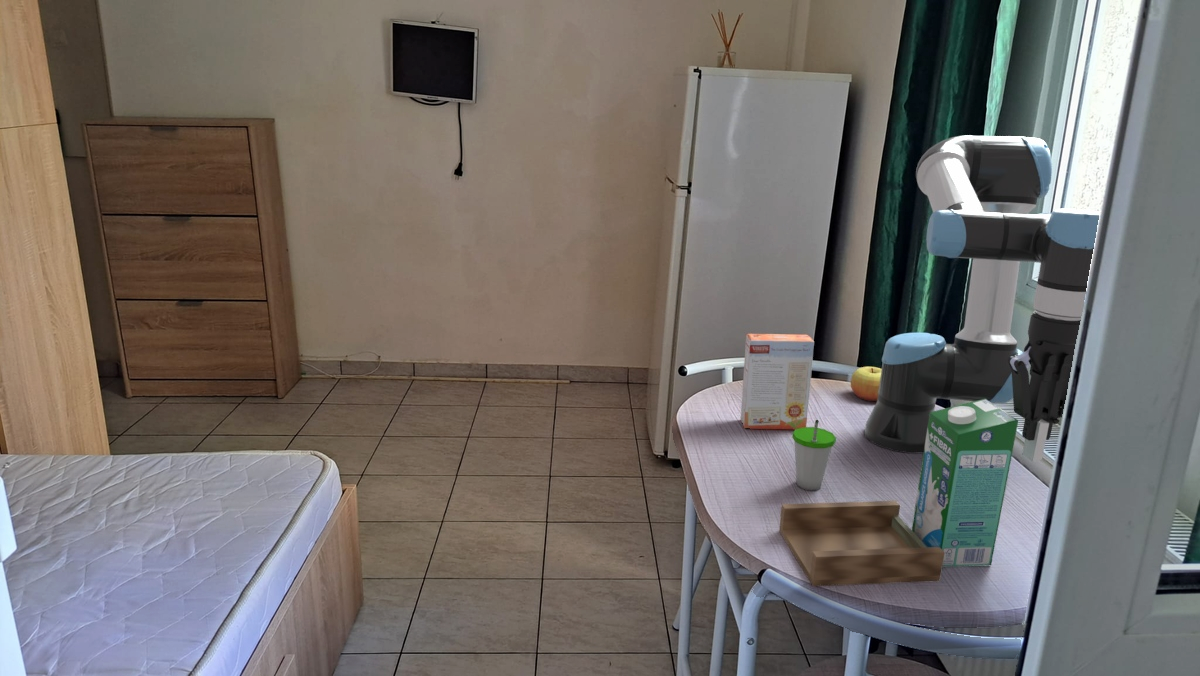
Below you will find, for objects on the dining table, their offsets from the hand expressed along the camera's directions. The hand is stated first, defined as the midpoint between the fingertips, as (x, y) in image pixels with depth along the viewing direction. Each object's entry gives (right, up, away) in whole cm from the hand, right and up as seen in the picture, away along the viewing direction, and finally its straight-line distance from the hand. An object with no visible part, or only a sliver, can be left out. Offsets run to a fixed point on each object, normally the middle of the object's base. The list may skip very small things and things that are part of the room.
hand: (1031, 457), depth 124 cm
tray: (-27, -16, +2) cm, 32 cm away
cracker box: (-29, -1, +53) cm, 61 cm away
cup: (-29, -9, +25) cm, 39 cm away
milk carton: (-11, -16, +4) cm, 20 cm away
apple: (-1, +4, +71) cm, 71 cm away
